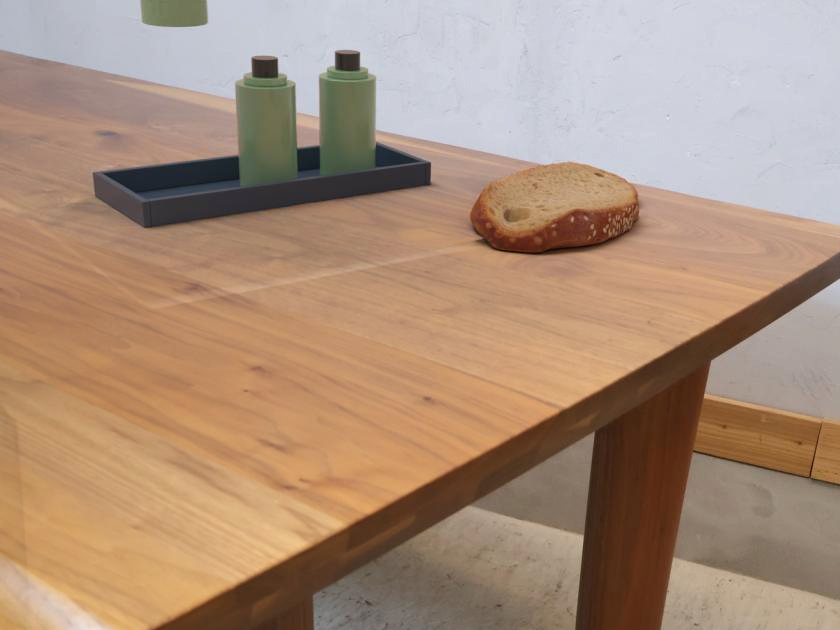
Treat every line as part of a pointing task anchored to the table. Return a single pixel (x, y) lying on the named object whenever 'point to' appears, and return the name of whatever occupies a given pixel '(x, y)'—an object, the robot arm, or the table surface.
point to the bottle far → (347, 116)
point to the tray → (222, 195)
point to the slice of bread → (555, 208)
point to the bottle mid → (266, 124)
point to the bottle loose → (174, 12)
